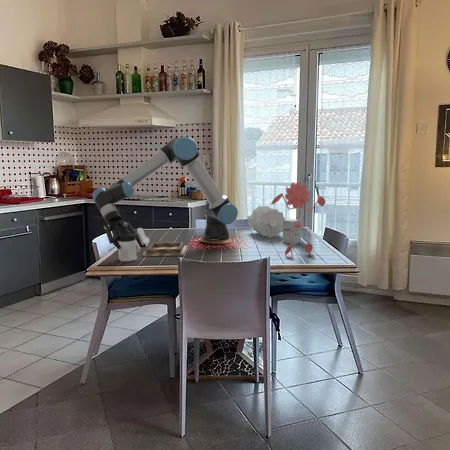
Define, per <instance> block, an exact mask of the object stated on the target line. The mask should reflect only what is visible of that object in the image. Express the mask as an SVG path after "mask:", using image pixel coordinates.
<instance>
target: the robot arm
mask: <svg viewBox="0 0 450 450" xmlns="http://www.w3.org/2000/svg"><path fill="white" fill-rule="evenodd" d="M200 157H201V154H200V152H199V151H198V145H197V143H196V141H195V140H194V139H192V138H191V137H189V136H179V137H175V138H173V139H171V140H170V141H168V142H167V143H166V144H165V145H164V146H162V147H161V148H160V149H159V150H158V152H157V153H156V154H154V155H153V156H152V157H150V158H149V159H148V160H146V161H145V162H143V163H142V164H141V165H139V166H138V167H136V168H134V169H133V170H131V172H128V173H127V174H126V175H125V176H124V177H122V178H120V179H118V181H116V182H113V183H112V184H111V185H110V186H109V188H108V189H106V188H104V187H99V188H96V189H95V190H94V191H93V192H92V198H93V200H94V203H95V206H96V207H97V208H98V210H99V212H100V213H101V215H102V217H103V219H104V221H105V223H106V224H104V226H103V227H102V228H103V230H104V231H105V233H106V236H107V240H108V242H109V244H110V245H113V246H115V247H116V249H117V250H118V249H120V252H121V254H122V255H124V254H125V252H126V251H125V249H124V247H123V246H122V245H121V244H120V243H119V241H118V232H121V233H123V234H124V233H133V234H135V240H136V253H140V251H141V250H142V249H141V248H142V247H141V245H140V246H139V242H138V241H137V238H138V236H139V235H138V234H137V232H136V231H135V229H134V227H133V226H132V224H131V222H130V221H129V220H128V221H124V220H123V219H122V216H121V214H120V212H119V210H118V209H117V207H116V205H115V204H116V203H118V202H121V201H123V200H125V199H127V198H130V197H132V196H133V195H135V191H134V188H135V187H136V186H138V185H140V184H141V183H142V182H144V181H145V180H146V179H148V178H150V177H151V176H152V175H153V174H155V173H156V172H158V171H160V169H162V168H163V167H165V166H166V165H171V164H172V163H173V162H175V161H177V162H178V163H179V165H180V166H181V168H185V169H186V170H187V172H188V173H189V174H190V176H191V178H192V179H193V181H194V182H195V184H196V185H197V187H198V188H199V190H200V192H201V193H202V194H203V196H204V197H205V199H206V201H205V223H206V225H205V228H204V232H203V239H204V240H208V239H223V240H227V238H228V239H230V233H229V229H228V226H227V225H230V224H232V223H235V221H236V220H237V218H238V215H239V211H238V210H239V209H238V208H237V206H236V205H235V204H233V203H232V202H231V200H230V199H229V198H228V197H227V195H225V194H224V195H223V194H222V192H221V191H220V189H219V187H218V186H217V184H216V182H215V181H214V180H213V178H212V176H211V175H210V173H209V172H208V170H207V169H206V167H205V165H204V164H203V162H202V161H201V159H200ZM119 244H120V245H119Z"/></svg>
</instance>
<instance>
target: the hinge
mask: <svg viewBox="0 0 450 450" xmlns="http://www.w3.org/2000/svg"><path fill="white" fill-rule="evenodd" d="M134 230H135V231H136V232H137V234H138V235H139V236H138V238H137V241H138V242H139V246H140V247H141V246H144V245H145V247H147V248H148V245H149V243H150V241H151V240H150V238H149V237H147V236H146V233H145V231H144V228H142V227H138V228H135V229H134Z"/></svg>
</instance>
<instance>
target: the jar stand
mask: <svg viewBox="0 0 450 450" xmlns="http://www.w3.org/2000/svg"><path fill="white" fill-rule="evenodd" d="M187 249H188V245H185V242H184V241H182V242H181V241H178V242H177V241H175V242H174V241H173V242H169V241H168V242H151V243H150V244H149V246H147V248H146V249H145V251H144V252H143V253H142V257H155V256H156V257H163V256H164V257H166V256H167V257H168V256H180V257H181V256H185V253H186V251H187Z"/></svg>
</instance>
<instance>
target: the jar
mask: <svg viewBox="0 0 450 450" xmlns="http://www.w3.org/2000/svg"><path fill="white" fill-rule="evenodd" d="M117 236H118V241H119V243H120V244H121V245H122V246H123V247H124V249H125V251H126V252H125V254H124V255H122V254H121V252H120V249H117V250H118V251H117V252H118V260H119V261H120V262H131V261H136V260H138V257H137V255H138V253H137V251H136V240H135V234H133V233H124V232H123V233H120V234H119V233H118V234H117ZM120 244H119V245H120Z"/></svg>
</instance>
